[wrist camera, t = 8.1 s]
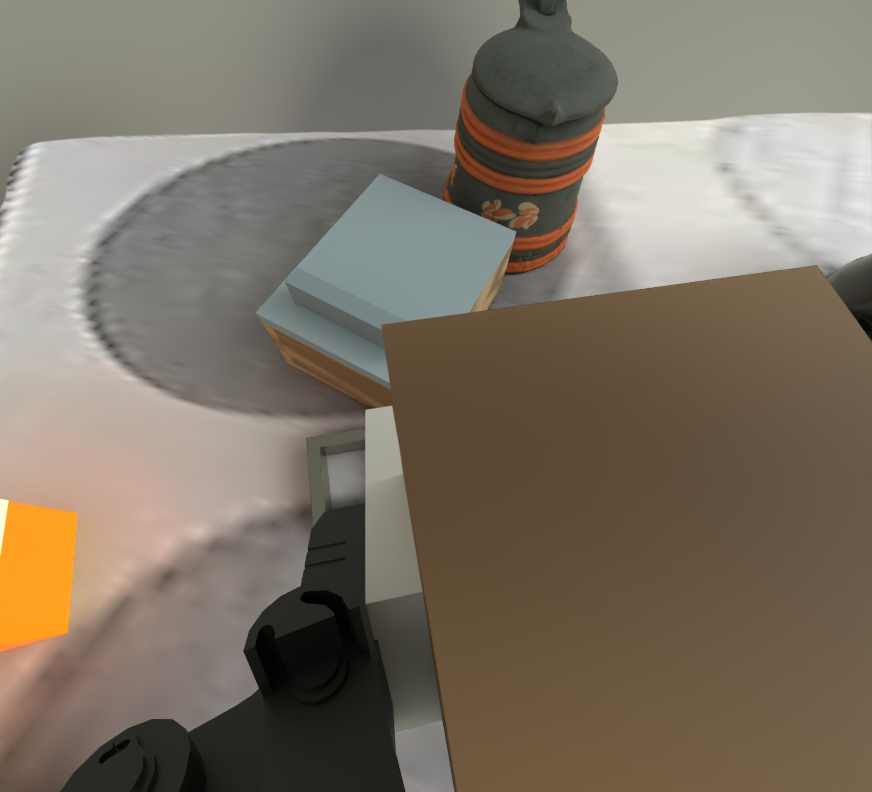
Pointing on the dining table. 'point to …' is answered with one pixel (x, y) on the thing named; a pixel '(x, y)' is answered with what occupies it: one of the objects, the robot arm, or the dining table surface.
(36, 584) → the orange juice
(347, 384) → the toolbox
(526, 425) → the pin
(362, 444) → the socket
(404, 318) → the lid
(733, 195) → the dining table surface
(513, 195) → the beer stein
